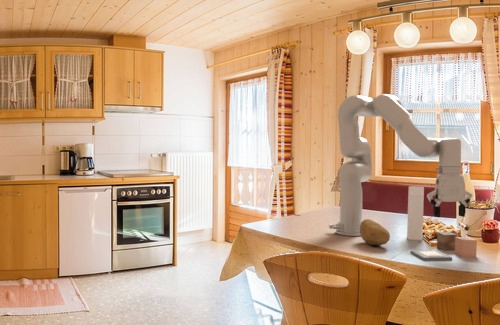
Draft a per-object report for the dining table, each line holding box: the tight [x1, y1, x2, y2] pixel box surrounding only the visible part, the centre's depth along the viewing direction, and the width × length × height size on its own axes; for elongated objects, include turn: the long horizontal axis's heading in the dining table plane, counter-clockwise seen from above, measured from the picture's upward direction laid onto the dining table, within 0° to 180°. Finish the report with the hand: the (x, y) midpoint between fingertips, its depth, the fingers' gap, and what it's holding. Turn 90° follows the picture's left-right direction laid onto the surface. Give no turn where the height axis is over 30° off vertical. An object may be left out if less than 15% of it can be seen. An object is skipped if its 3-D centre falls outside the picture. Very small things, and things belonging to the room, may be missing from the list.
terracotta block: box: [454, 236, 478, 258], centre depth 157 cm, size 5×5×6 cm
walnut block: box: [436, 231, 458, 252], centre depth 166 cm, size 5×5×6 cm
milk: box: [406, 185, 425, 242], centre depth 183 cm, size 6×6×22 cm
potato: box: [360, 218, 391, 246], centre depth 170 cm, size 9×16×9 cm, turn 10°
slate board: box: [410, 249, 453, 261], centre depth 154 cm, size 10×10×1 cm
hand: (449, 216), depth 165 cm, fingers open, 9 cm apart
